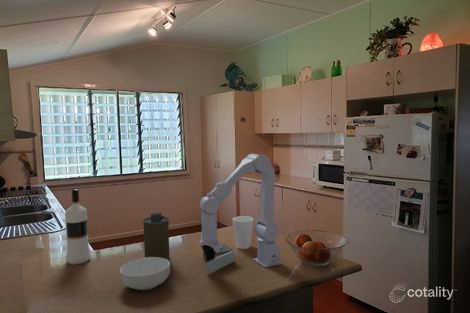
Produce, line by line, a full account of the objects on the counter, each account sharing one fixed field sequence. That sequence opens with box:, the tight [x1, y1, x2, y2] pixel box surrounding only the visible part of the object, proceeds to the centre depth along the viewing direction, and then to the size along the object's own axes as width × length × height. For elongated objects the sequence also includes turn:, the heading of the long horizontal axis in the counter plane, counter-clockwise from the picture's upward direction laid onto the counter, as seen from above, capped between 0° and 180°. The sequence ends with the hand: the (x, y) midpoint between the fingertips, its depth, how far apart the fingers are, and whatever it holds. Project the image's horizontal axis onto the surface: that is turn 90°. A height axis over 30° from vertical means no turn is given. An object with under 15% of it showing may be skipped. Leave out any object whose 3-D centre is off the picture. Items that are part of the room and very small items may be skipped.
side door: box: [205, 250, 235, 275], centre depth 131 cm, size 1×15×4 cm, turn 141°
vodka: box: [64, 188, 91, 265], centre depth 140 cm, size 9×9×30 cm
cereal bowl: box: [119, 256, 171, 291], centre depth 117 cm, size 17×17×7 cm
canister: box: [142, 211, 171, 262], centre depth 139 cm, size 11×10×20 cm
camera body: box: [202, 243, 234, 263], centre depth 138 cm, size 8×10×6 cm
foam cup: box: [232, 215, 254, 250], centre depth 155 cm, size 10×9×13 cm
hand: (210, 263), depth 128 cm, fingers closed
